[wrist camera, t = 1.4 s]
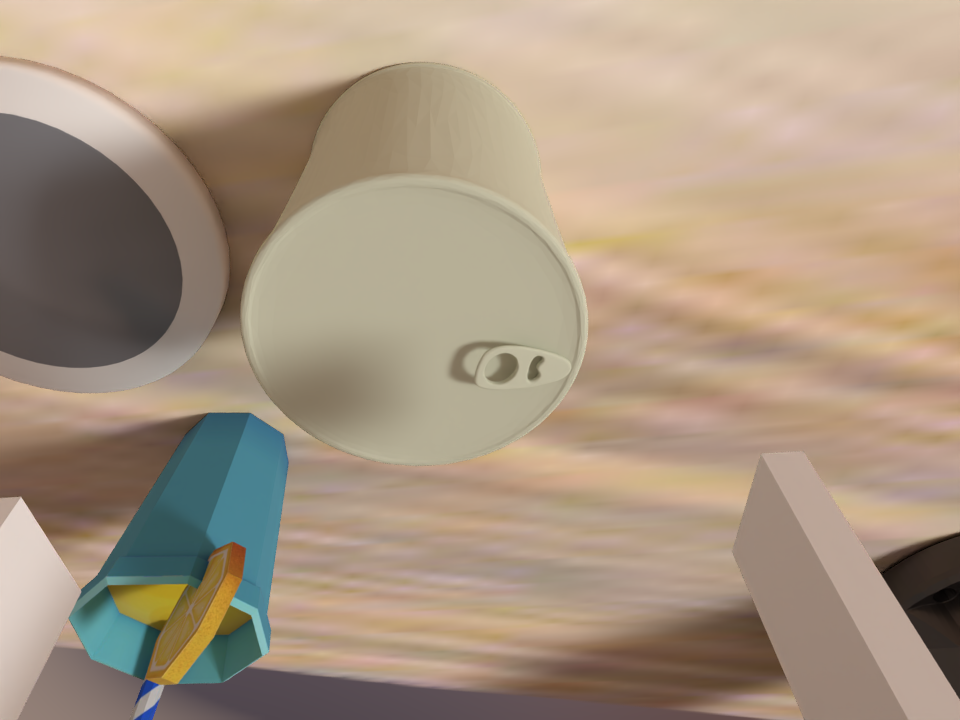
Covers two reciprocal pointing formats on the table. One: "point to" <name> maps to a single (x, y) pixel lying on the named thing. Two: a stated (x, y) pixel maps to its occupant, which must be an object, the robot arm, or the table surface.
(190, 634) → the cup
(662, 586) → the table surface
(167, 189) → the white and grey plate
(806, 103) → the table surface
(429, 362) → the can
